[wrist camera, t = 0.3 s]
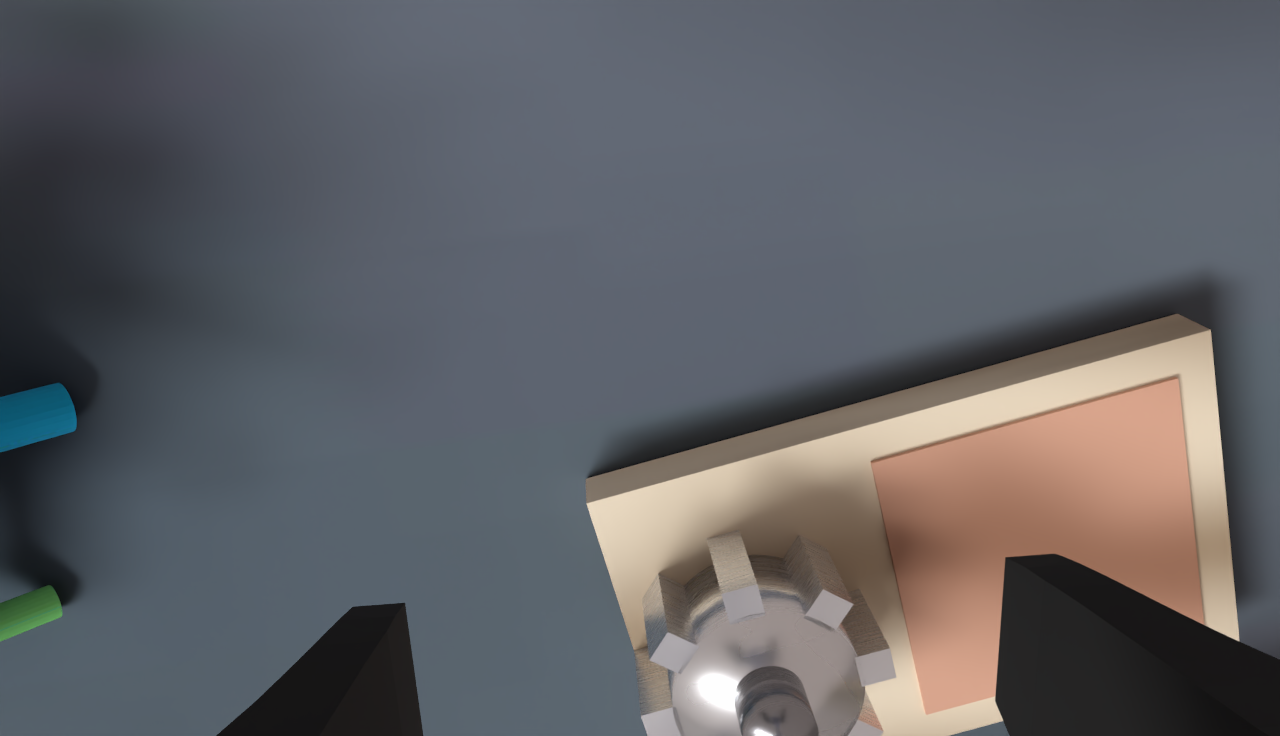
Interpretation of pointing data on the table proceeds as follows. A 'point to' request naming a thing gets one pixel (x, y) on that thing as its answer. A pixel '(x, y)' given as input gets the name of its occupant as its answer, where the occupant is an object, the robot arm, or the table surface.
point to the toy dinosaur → (17, 426)
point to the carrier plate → (960, 504)
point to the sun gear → (760, 648)
